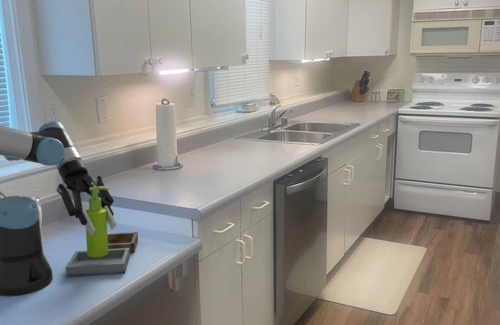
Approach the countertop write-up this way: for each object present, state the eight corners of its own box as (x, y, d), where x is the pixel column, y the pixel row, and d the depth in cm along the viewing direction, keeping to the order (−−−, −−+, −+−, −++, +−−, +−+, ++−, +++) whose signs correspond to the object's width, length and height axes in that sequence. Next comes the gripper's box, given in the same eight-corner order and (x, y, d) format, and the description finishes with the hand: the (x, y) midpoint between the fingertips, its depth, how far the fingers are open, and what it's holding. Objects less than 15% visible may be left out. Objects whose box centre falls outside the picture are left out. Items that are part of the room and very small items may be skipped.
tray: (66, 277, 138) (65, 267, 137) (76, 260, 150) (75, 251, 149) (124, 273, 140) (124, 263, 139) (129, 257, 151) (129, 247, 151)
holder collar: (95, 255, 153) (94, 246, 153) (101, 242, 164) (100, 234, 164) (134, 252, 155) (133, 243, 154) (138, 240, 166) (137, 231, 165)
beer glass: (24, 240, 168) (19, 197, 165) (46, 237, 170) (41, 195, 167) (21, 247, 162) (16, 203, 159) (44, 244, 164) (39, 201, 161)
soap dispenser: (112, 255, 143) (109, 188, 139) (87, 258, 140) (84, 190, 136) (110, 248, 148) (107, 184, 144) (86, 251, 145) (82, 185, 142)
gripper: (95, 168, 157) (127, 227, 149) (36, 179, 143) (68, 245, 135) (102, 153, 152) (136, 214, 144) (42, 163, 138) (76, 231, 131)
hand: (103, 229), depth 140 cm, fingers closed on soap dispenser, 6 cm apart
